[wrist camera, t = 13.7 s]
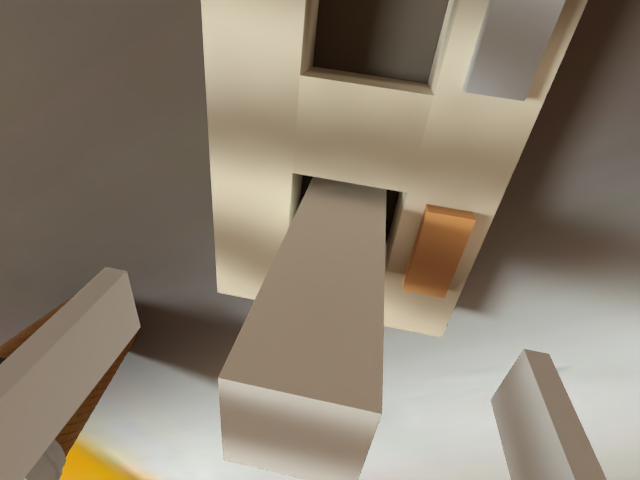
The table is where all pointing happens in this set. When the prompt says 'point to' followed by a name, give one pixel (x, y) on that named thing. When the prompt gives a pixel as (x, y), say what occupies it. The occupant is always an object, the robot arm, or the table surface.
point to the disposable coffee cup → (53, 459)
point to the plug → (313, 343)
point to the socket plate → (374, 137)
